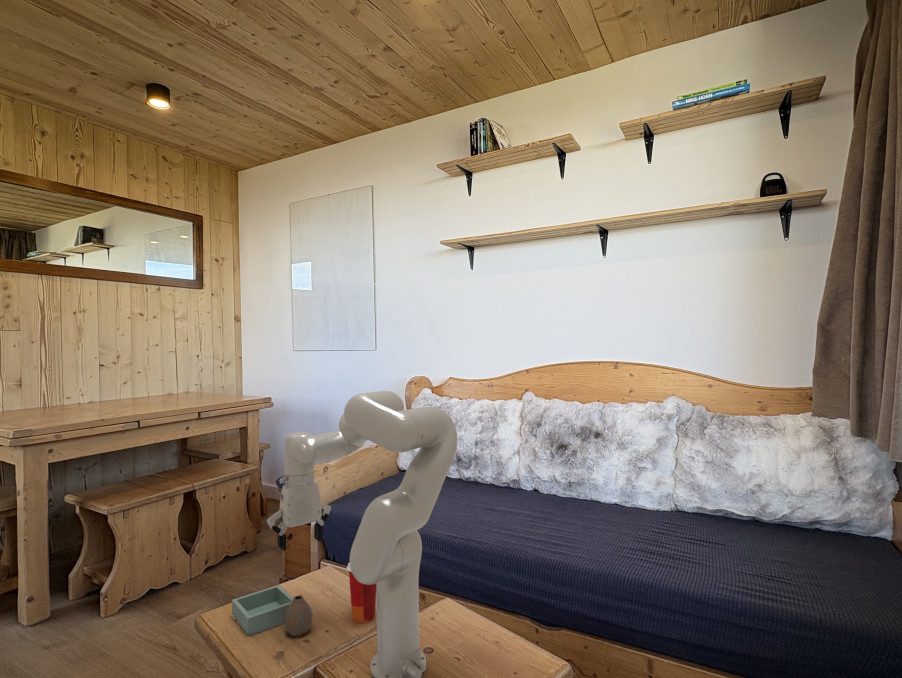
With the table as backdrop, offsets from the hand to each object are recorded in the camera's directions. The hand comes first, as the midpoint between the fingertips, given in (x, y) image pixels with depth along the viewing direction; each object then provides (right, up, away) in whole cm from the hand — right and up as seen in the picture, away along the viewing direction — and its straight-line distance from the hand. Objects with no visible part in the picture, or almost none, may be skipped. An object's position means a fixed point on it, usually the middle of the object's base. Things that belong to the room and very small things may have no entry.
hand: (300, 544), depth 134 cm
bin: (-11, -21, +3) cm, 24 cm away
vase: (+1, -21, -5) cm, 21 cm away
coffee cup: (+16, -21, +2) cm, 26 cm away
